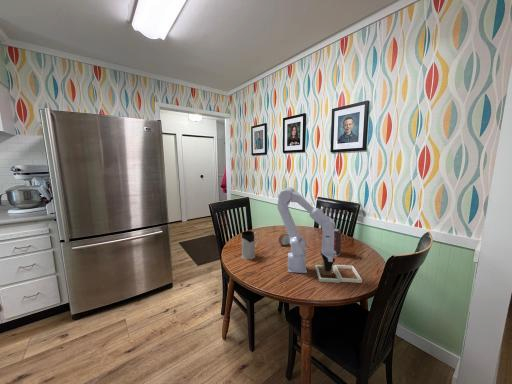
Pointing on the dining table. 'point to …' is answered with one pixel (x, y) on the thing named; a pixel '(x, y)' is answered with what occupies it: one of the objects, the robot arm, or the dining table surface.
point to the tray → (348, 278)
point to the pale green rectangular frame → (327, 278)
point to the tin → (284, 239)
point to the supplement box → (337, 241)
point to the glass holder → (248, 244)
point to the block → (325, 270)
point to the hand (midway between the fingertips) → (327, 268)
